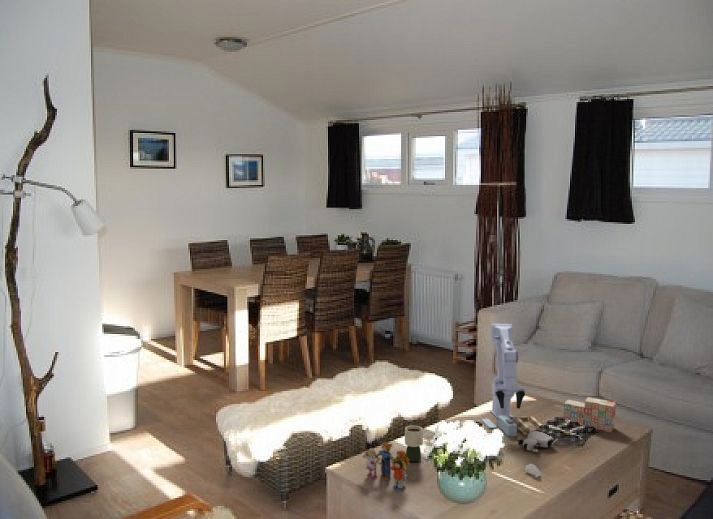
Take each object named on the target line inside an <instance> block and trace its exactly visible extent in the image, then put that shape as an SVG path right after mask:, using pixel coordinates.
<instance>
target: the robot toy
mask: <svg viewBox="0 0 713 519" xmlns="http://www.w3.org/2000/svg"><path fill="white" fill-rule="evenodd" d="M532 431H533V432H532ZM532 431H531V432H530V433H529V434H528V435H527V436H526V437H527V438H526V439H517V440H516V441H514V444H515V445H518V446H520V445H521V446H522V448H523V450H527V451H531V452H535V453H538V452H539V450H540V448H548V447H550V446H553V445H554V443H555V442H556V441H558V438H556V439H555V440H554V438H553V436H552V435H550V436H549V435H547V434H545V433H543V432H539V431H534V430H532Z"/></svg>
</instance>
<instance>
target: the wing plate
mask: <svg viewBox="0 0 713 519" xmlns="http://www.w3.org/2000/svg"><path fill="white" fill-rule="evenodd" d="M480 420H481V422H482V423H483V424H484V425H485V426H486V427H487V428H488V429H489V428H493V429H494V428H496V429H498V427H497V426H496V425H495V423H493V421H492V420H491V419H489V418H481V419H480Z"/></svg>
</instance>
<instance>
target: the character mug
mask: <svg viewBox="0 0 713 519" xmlns="http://www.w3.org/2000/svg"><path fill="white" fill-rule="evenodd" d="M423 431H424V430H423V427H421V426H419V425H408V426H405V428H404V444H405V445H406V451H405V454H406V456H407V458H409V462H419V461H421V460H422V453H421V452H422V451H421V446H423V445H424V432H423Z"/></svg>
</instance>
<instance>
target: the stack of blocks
mask: <svg viewBox="0 0 713 519" xmlns="http://www.w3.org/2000/svg"><path fill="white" fill-rule="evenodd" d="M616 405H617V404H616V402H615V401H609V400H605V399H600V398H594V397H589V396H588V397H587V398H586V399H585V401H584V402H581V401H577V400H571V399H567V400H566V401H565V402H564V405H563V419H564V418H565V419H568V420H572V421H576V422H580V423H581V424H582V425H591V426H594V427H595V428H596V429H595V430H598V431H603V432H608V433H613V430H614V428H615V420H616V418H615V417H616Z"/></svg>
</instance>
